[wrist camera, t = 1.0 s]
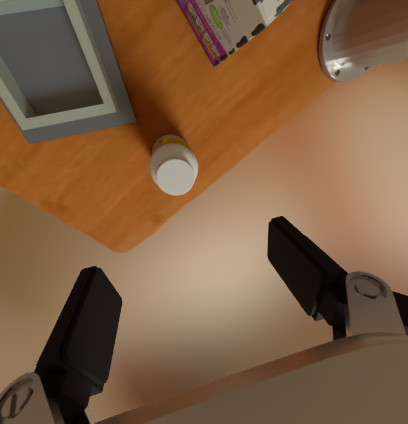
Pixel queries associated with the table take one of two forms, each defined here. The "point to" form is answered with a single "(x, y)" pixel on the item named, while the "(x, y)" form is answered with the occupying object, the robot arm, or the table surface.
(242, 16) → the candy bar box
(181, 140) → the supplement bottle
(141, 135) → the table surface
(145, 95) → the table surface
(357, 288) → the robot arm
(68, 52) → the tray
